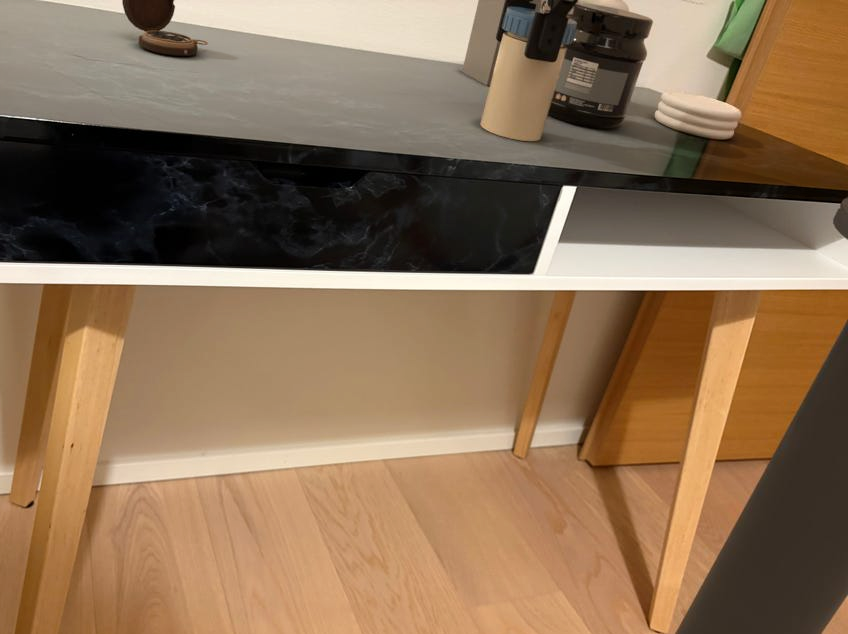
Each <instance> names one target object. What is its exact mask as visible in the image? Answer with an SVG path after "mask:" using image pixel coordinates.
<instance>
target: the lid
mask: <svg viewBox="0 0 848 634" xmlns="http://www.w3.org/2000/svg"><path fill="white" fill-rule="evenodd" d="M535 12H540V13H541V11H539V10H534V9H528V8H522V7H512V6H511V7H507V11H506V12H505V16H504V20H503V24H502V28H503V29H504V30H506V31H508V32H510V33H513V34H515V35H519V36H522V37H525V38H529V34H530V30H531V26H532V23H533V19H534V15H535ZM576 26H577V22H576V21H574V20H571V19H569V20H568V23H567V27H566V30H565V33H564V37H563V40H562V44H563V45H568V44H571V43H572V42H573V39H574V35H575V32H576Z"/></svg>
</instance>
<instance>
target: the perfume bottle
mask: <svg viewBox="0 0 848 634" xmlns="http://www.w3.org/2000/svg"><path fill="white" fill-rule="evenodd" d="M504 3H505V0H478V1H477V5H476V10H475V14H474V19H473V23H472V26H471V27H472V28H471V31H470V36H469V40H468V44H467V49H466V52H465V58H464V61H463V66H462V69H461V73H462V74H464V75H466V76H468V77H470V78H472V79H473V80H475V81H477V82H479V83H481V84H483V85H485V86H488V87H490V84H491V80H492V76H493V72H494V68H495V64H496V60H497V56H498V52H499V48H500V44H501V42H499V41H497V39H496V35H497V31H498V27H499V23H500V19H501V15H502V11H503V7H504ZM530 3H534V4H537V5H536V9H535V10H539V11H541V0H534V1H533V2H530Z"/></svg>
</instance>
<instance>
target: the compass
mask: <svg viewBox="0 0 848 634" xmlns="http://www.w3.org/2000/svg"><path fill="white" fill-rule="evenodd" d="M121 1H122V2H121V3H122V7H123V11H124V14H125V16H126V17H127V20H128V21H129V22H130V24H132V25H133V26H134V28H137V29H138V30H140V31H143V32H144V33H142V34H141V35H140V36H138V45H139V46H140V47H141V48H143V49H144V50H147V51H150V52H153V53H158V54H163V55H168V56H176V57H178V56H179V57H189V56H194V55H196V54H197V53H198V48H199V47H198V45H202V46H205V45H208V44H209V42H208V41H206V40H202V39H194V38H193V39H192V38H191V37H189V36H188V35H185V34H181V33H177V32H173V31H166V30H164V29H165V28H166V27H167V26H168V25H169V24H170V22H171V21H172V18H173V16H174V13H175V9H176V5H175V3H174V1H175V0H121Z"/></svg>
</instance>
